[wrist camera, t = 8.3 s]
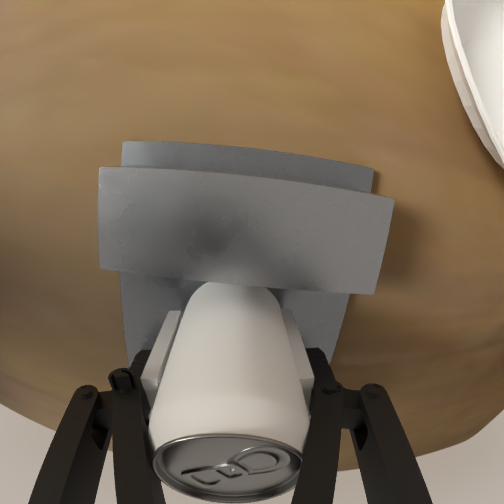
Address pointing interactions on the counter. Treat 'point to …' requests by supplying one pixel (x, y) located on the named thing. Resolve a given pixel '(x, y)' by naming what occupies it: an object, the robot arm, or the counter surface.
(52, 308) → the counter surface
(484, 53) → the bowl
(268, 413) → the can
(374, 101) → the counter surface
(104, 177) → the gray metal fixture
